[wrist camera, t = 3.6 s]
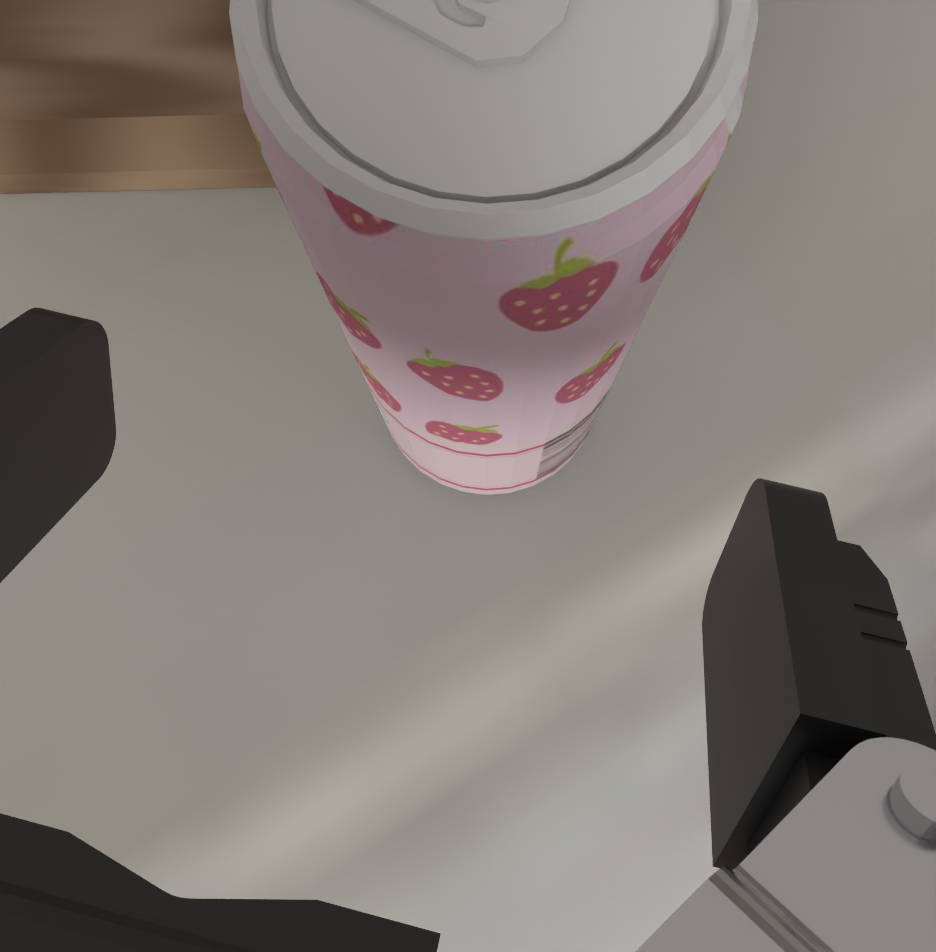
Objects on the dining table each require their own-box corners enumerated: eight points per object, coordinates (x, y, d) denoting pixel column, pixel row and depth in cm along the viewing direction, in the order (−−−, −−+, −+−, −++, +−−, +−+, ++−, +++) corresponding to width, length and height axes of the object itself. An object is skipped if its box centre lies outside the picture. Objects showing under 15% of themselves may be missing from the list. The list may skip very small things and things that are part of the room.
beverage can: (395, 279, 24) (252, -286, 9) (605, 299, 24) (798, -246, 9) (368, 484, 23) (158, 215, 8) (587, 508, 23) (769, 273, 8)
